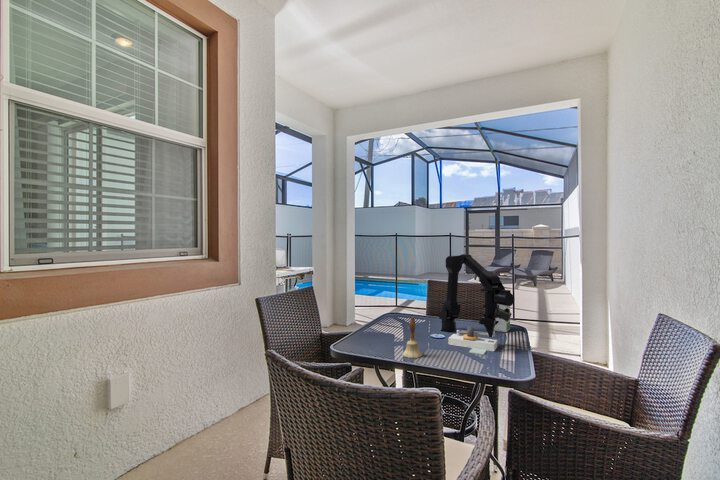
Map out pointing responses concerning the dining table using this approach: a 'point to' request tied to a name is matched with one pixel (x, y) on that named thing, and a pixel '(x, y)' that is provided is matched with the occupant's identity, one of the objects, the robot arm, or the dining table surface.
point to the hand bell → (412, 343)
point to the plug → (470, 334)
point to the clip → (475, 332)
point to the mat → (477, 351)
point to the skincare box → (502, 322)
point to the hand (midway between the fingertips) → (490, 337)
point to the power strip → (473, 342)
